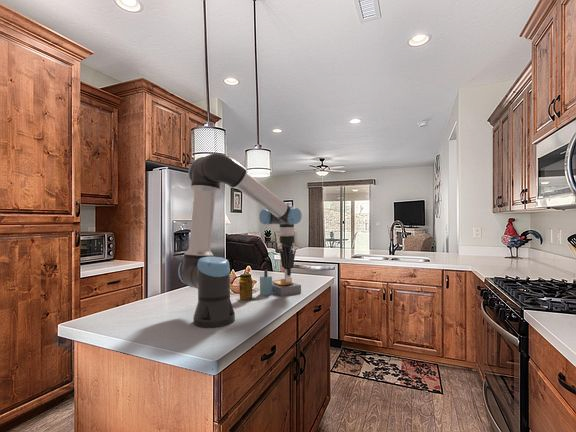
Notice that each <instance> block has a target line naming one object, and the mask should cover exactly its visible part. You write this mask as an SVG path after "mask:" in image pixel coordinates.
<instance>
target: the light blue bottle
mask: <svg viewBox="0 0 576 432" xmlns="http://www.w3.org/2000/svg"><path fill="white" fill-rule="evenodd" d="M263 272H264V273H263V275H260V276H259V294H260V295H262V296H271V295H273V293H272V281H273V276H270V275H269V274H268V269H266V270H264V271H263Z"/></svg>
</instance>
